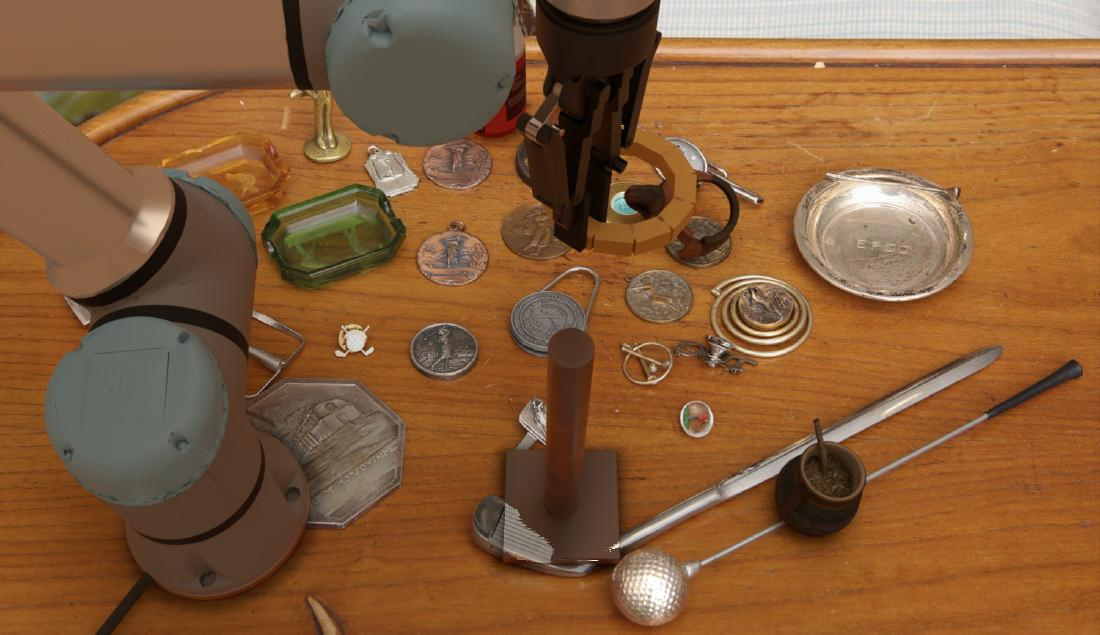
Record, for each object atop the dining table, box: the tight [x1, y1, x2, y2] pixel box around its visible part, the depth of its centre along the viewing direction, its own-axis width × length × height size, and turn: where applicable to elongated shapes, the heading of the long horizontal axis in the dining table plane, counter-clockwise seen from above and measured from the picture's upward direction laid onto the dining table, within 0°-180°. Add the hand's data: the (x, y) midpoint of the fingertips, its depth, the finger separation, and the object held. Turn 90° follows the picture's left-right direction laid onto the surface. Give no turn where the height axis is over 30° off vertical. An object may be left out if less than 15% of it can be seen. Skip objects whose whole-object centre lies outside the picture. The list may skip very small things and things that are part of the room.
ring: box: [541, 125, 697, 257], centre depth 76 cm, size 13×13×2 cm
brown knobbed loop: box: [623, 169, 741, 260], centre depth 97 cm, size 12×10×8 cm
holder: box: [502, 327, 621, 565], centre depth 70 cm, size 10×10×28 cm
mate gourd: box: [774, 417, 868, 538], centre depth 78 cm, size 7×8×10 cm
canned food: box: [473, 24, 527, 138], centre depth 103 cm, size 8×8×11 cm
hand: (579, 231), depth 74 cm, fingers closed on ring, 2 cm apart
